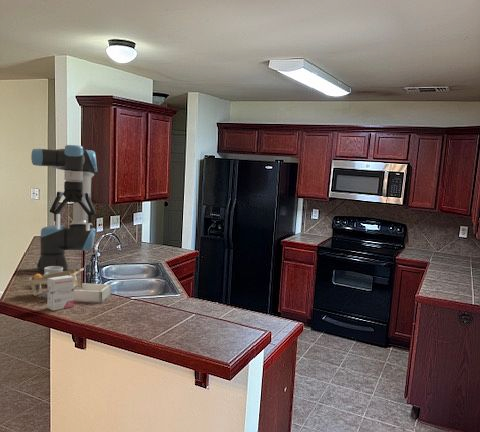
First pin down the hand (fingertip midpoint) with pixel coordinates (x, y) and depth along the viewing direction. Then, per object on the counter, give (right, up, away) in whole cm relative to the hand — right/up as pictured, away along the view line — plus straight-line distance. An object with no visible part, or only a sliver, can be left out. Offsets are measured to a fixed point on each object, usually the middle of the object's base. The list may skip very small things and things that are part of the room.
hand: (72, 229), depth 197 cm
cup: (-12, -26, +6) cm, 29 cm away
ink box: (+5, -29, -25) cm, 39 cm away
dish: (+12, -28, -11) cm, 32 cm away
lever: (-3, -24, -6) cm, 25 cm away
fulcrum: (-4, -27, -10) cm, 29 cm away
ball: (-11, -19, -11) cm, 25 cm away
